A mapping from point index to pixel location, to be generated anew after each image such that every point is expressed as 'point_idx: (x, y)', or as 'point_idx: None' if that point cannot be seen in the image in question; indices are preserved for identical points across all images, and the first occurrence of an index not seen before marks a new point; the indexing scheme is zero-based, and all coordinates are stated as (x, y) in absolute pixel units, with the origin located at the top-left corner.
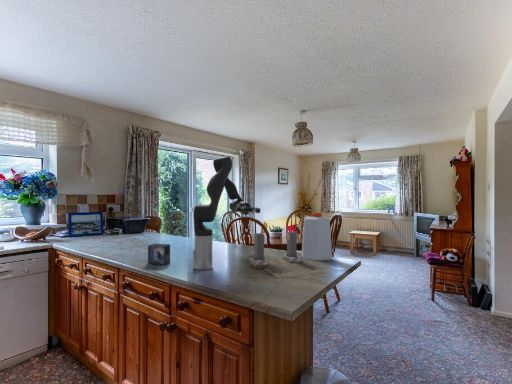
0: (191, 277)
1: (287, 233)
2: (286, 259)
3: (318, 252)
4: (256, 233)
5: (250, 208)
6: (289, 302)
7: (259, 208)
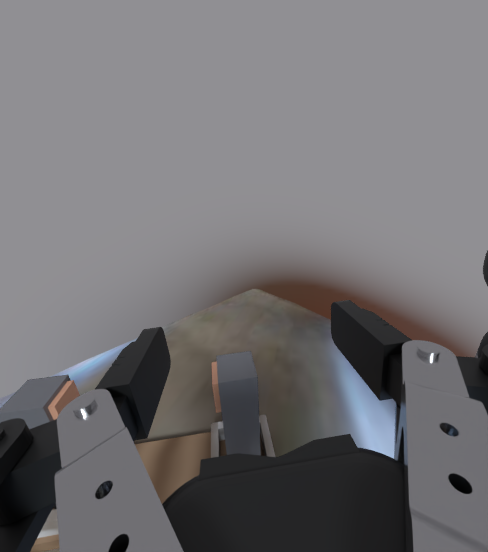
0: None
1: (63, 397)
2: None
3: None
4: (247, 371)
5: (218, 471)
6: (249, 297)
7: (3, 429)
